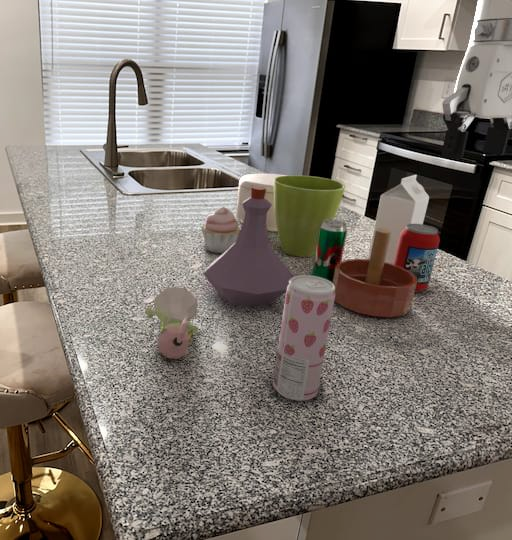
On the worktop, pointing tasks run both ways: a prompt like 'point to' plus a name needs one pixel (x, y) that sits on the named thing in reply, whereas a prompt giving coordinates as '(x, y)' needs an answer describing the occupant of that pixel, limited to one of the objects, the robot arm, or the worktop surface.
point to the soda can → (329, 248)
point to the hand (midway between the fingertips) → (472, 155)
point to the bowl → (374, 289)
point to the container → (268, 183)
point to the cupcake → (220, 231)
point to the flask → (250, 261)
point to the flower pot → (304, 210)
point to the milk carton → (400, 212)
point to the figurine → (174, 320)
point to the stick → (378, 256)
